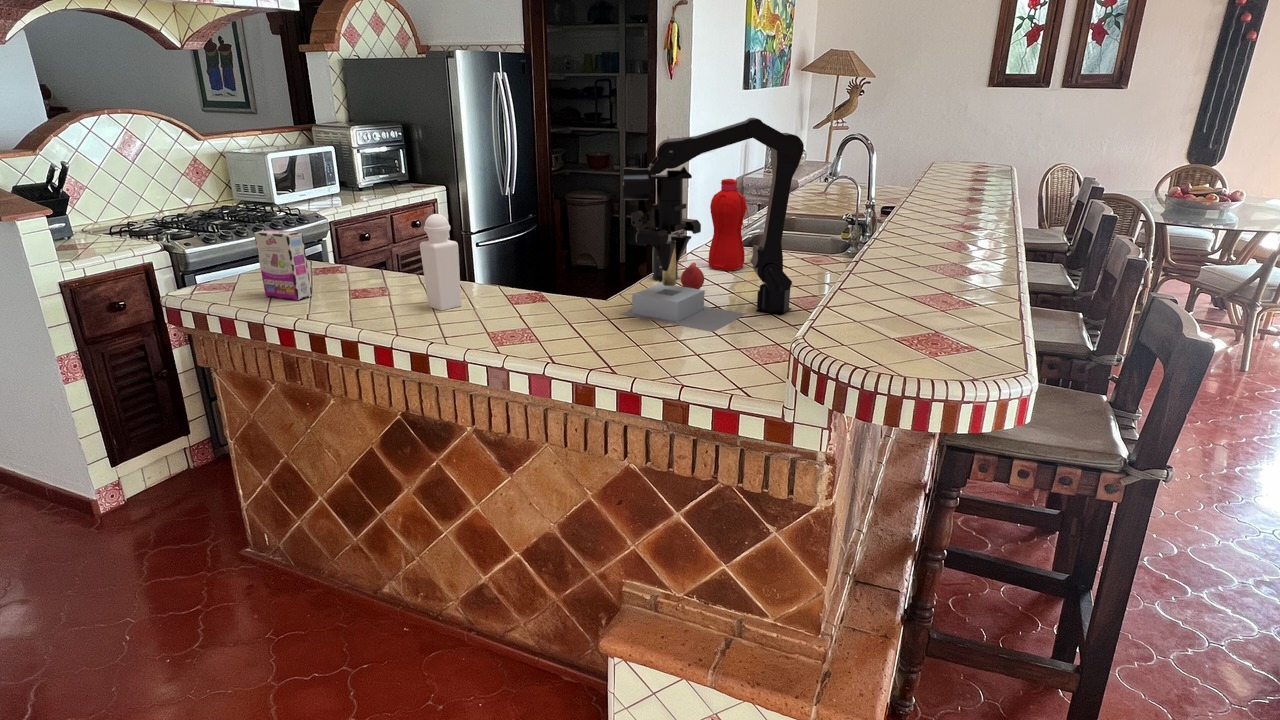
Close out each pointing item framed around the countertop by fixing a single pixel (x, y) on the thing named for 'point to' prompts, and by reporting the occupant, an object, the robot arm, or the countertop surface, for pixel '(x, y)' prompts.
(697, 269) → the onion
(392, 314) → the countertop surface
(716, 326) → the rubber mat
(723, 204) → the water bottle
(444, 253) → the square decanter bottle
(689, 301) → the socket block
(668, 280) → the brass pin
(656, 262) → the supplement bottle
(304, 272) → the candy bar box
